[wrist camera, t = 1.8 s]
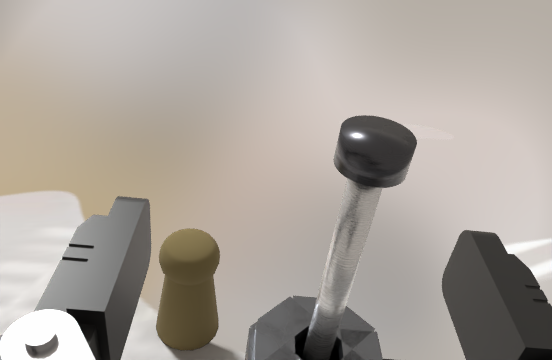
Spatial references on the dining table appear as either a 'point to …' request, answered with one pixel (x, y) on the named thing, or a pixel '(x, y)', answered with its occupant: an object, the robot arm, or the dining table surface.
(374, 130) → the plunger
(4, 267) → the dining table surface
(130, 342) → the dining table surface
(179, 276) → the cork
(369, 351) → the coffee press
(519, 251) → the dining table surface
